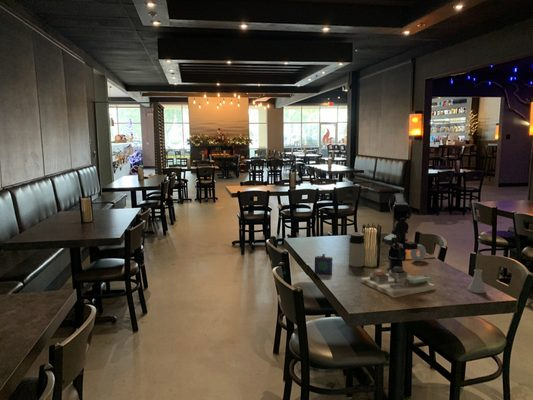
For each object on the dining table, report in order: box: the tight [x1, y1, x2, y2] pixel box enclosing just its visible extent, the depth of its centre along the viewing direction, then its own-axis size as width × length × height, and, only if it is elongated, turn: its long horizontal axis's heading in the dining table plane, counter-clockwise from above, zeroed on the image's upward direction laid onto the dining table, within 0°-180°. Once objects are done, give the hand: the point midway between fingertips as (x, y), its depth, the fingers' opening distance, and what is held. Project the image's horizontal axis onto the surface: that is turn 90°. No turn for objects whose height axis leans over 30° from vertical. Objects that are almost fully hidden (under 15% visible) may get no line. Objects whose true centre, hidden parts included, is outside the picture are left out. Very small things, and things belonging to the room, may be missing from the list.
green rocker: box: [401, 275, 432, 283], centre depth 198 cm, size 8×11×1 cm
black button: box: [394, 266, 404, 273], centre depth 208 cm, size 4×4×2 cm
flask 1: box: [314, 253, 333, 276], centre depth 218 cm, size 9×3×11 cm, turn 78°
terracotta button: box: [374, 268, 385, 277], centre depth 203 cm, size 4×4×2 cm
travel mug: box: [348, 231, 365, 268], centre depth 233 cm, size 8×8×18 cm
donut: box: [409, 243, 427, 262], centre depth 241 cm, size 10×4×10 cm, turn 110°
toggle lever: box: [391, 269, 397, 284], centre depth 194 cm, size 2×2×7 cm
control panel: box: [360, 270, 436, 299], centre depth 201 cm, size 23×25×5 cm
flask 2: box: [467, 269, 487, 294], centre depth 193 cm, size 7×7×10 cm
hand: (398, 259), depth 208 cm, fingers closed
